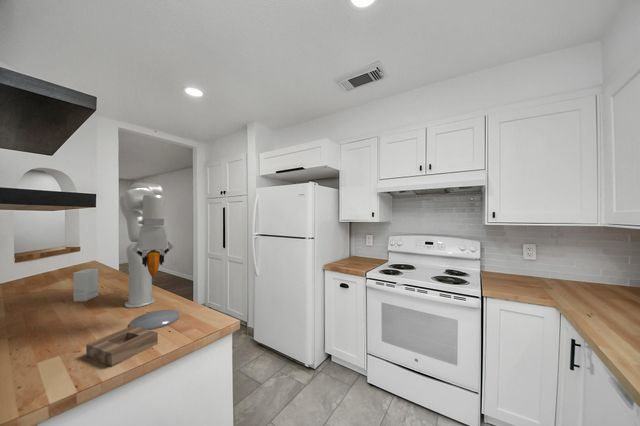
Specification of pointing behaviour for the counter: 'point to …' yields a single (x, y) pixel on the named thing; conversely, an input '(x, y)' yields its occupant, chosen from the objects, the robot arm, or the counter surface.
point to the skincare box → (85, 284)
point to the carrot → (153, 262)
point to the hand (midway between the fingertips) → (153, 264)
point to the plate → (155, 319)
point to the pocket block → (121, 345)
